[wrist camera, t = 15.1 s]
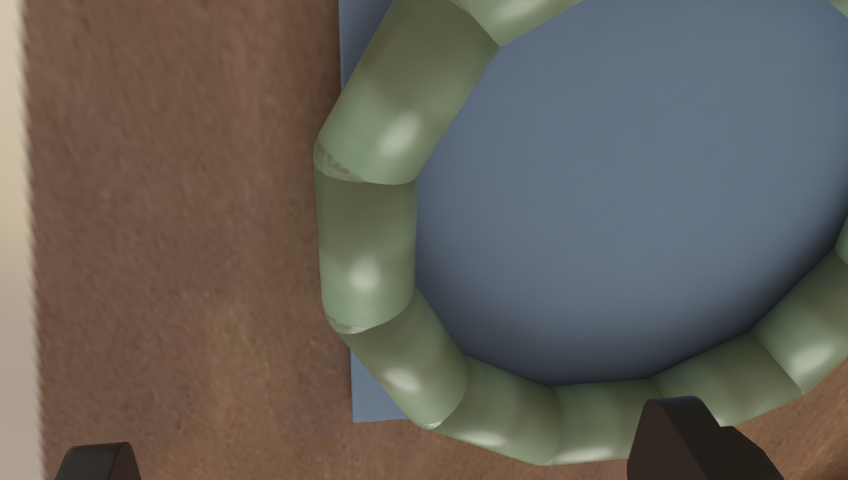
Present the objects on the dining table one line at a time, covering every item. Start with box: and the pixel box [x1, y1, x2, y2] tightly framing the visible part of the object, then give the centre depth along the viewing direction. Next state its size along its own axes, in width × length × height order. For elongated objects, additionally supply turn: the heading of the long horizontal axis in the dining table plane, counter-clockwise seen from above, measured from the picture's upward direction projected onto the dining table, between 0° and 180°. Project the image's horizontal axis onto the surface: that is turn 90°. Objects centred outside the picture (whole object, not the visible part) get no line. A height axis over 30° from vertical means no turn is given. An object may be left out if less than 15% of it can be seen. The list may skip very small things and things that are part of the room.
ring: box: [313, 0, 848, 466], centre depth 17 cm, size 17×17×2 cm
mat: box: [338, 0, 848, 423], centre depth 18 cm, size 16×16×1 cm
